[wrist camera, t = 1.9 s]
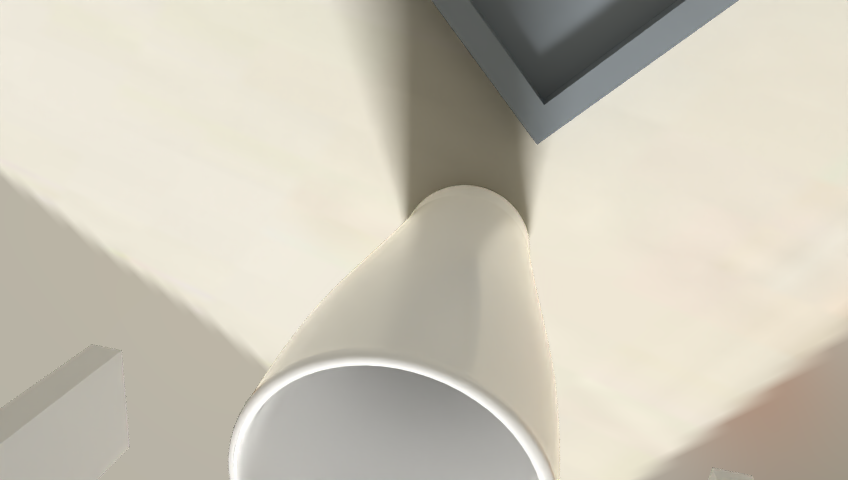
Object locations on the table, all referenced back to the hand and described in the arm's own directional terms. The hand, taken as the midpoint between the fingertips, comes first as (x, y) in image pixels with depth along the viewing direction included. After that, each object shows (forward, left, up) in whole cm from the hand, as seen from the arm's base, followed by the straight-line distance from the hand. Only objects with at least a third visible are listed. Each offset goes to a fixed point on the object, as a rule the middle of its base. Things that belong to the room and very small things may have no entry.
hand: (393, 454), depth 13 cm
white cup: (0, 0, -14) cm, 14 cm away
